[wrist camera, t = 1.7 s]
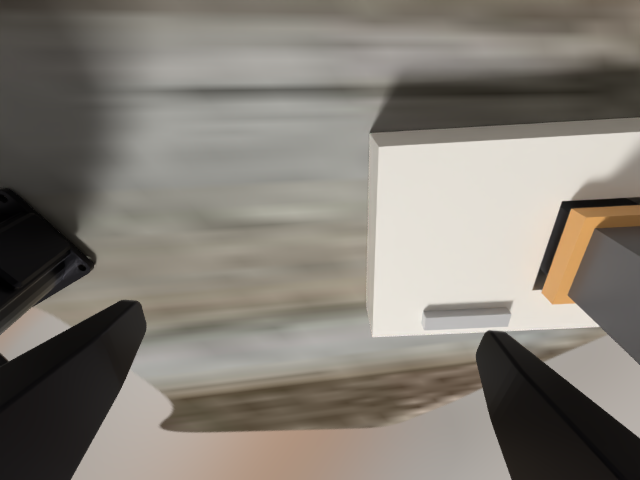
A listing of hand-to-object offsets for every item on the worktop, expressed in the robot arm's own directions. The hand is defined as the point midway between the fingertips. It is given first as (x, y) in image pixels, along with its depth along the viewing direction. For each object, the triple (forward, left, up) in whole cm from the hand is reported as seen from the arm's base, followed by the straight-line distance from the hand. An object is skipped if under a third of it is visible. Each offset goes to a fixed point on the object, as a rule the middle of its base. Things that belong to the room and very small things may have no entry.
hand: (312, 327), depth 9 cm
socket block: (+8, -8, -12) cm, 16 cm away
